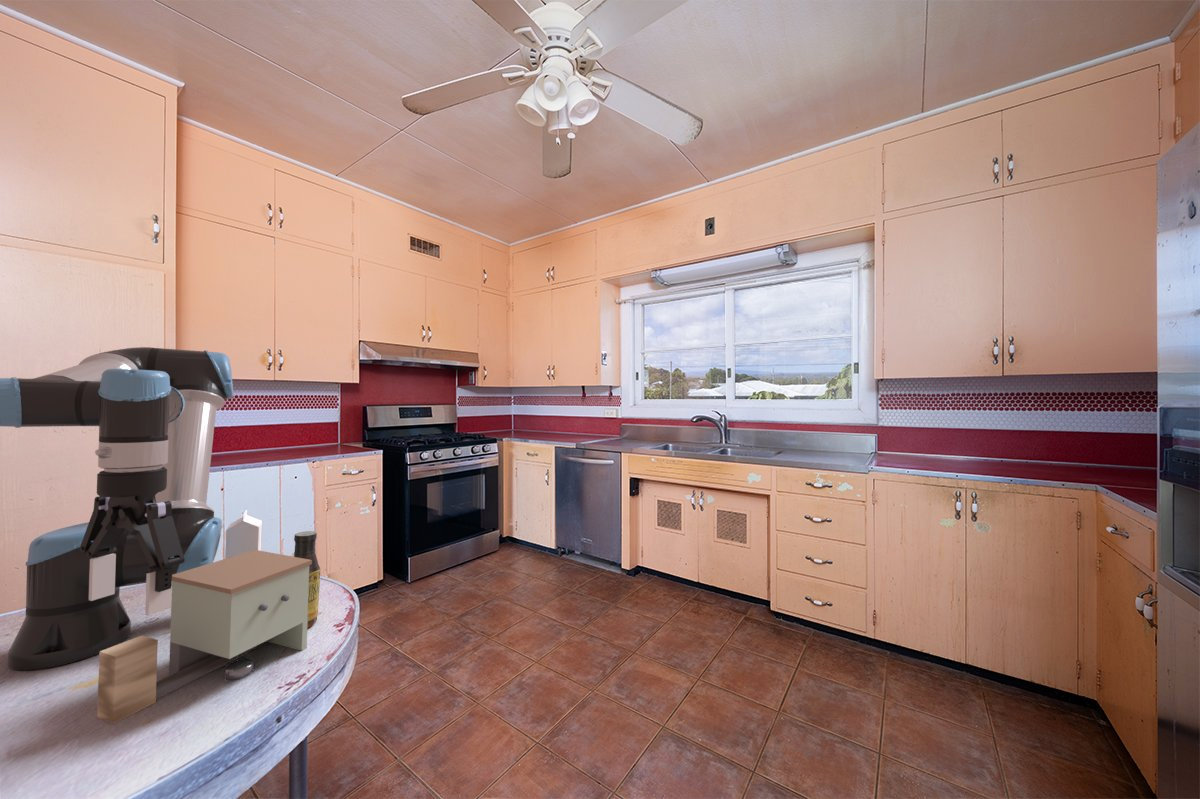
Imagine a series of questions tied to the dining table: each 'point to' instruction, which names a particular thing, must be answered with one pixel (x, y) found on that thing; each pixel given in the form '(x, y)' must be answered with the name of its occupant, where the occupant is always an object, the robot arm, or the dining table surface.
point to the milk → (243, 536)
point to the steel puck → (239, 669)
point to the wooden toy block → (141, 677)
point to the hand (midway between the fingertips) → (129, 604)
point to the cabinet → (238, 607)
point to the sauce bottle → (307, 551)
